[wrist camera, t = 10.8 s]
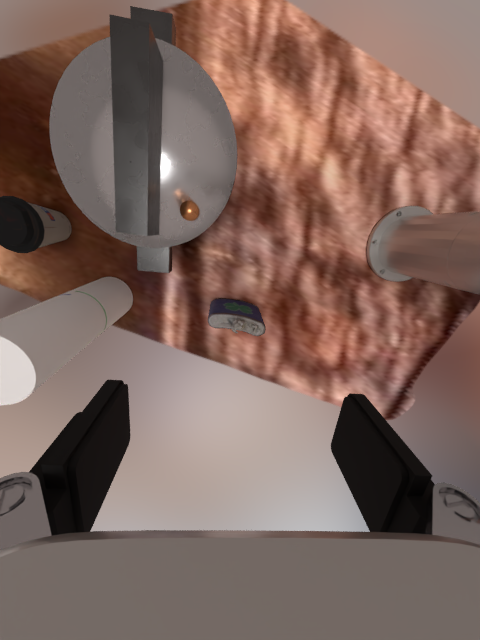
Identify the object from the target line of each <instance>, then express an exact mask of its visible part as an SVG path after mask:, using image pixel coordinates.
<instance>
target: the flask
mask: <svg viewBox="0 0 480 640" xmlns="http://www.w3.org/2000/svg"><path fill="white" fill-rule="evenodd" d="M208 323H209V325H210V326H211V327H214V328H228V329H232V331H233V332H235V333H238V332H237V331H236V330H240V331H244V332H247V333H249V334H252V335H255V336H260V335H262V334H264V333H265V324H264V322H263V319H262V317H261V313H260V311H259V308H258V307H257V306H255V305H254V304H252V303H249V302H245V301H241V300H234V299H226V298H218V299H214V300H213V301H212V302H211V304H210V310H209V317H208Z"/></svg>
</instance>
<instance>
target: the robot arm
mask: <svg viewBox="0 0 480 640" xmlns="http://www.w3.org/2000/svg"><path fill="white" fill-rule="evenodd" d="M396 214H397V215H396ZM367 259H368V263H369V265H370V267H371V269H372V270H373V272H374V273H375V274H376V275H378V276H379V277H381V278H383V279H385V280H389V281H395V282H399V281H406V280H409V279H412V278H417V279H421V280H425V281H429V282H432V283H436V284H440V285H444V286H448V287H452V288H455V289H459V290H463V291H467V292H471V293H475V294H480V211H476V212H461V213H446V214H433V213H431V212H430V211H429V210H427V209H425V208H423V207H419V206H405V207H401V208H397V209H395V210H393V211H391V212H389V213H388V214H387V215H385V216H384V217H383V218H382V219H381V220H380V221H379V222H378V223H377V224H376V226H375V227H374V229H373V230H372V232H371V234H370V237H369V240H368V243H367ZM380 270H381V271H380ZM129 441H130V420H129V398H128V385H127V384H124V383H123V381H122V380H107V381H106V382H105V383H104V384H103V386H102V387H101V388H100V390H99V391H98V392H97V394H96V395H95V396H94V397H93V399H92V400H91V401H90V402H89V404H88V405H87V406H86V408H85V409H84V410H83V412H79V413H77V414H76V415H75V416H74V417H73V418H72V419H71V420H70V422H69V423H68V424H67V425H66V427H65V428H64V429H63V430H62V432H61V433H60V434H59V435H58V437H57V438H56V439H55V440H54V442H53V443H52V444H51V445H50V447H49V448H48V449H47V450H46V452H45V453H44V454H43V455H42V457H41V458H40V459H39V460H38V462H37V463H36V464H35V465H34V467H33V468H32V469H31V470H30V472H20V473H14V474H11V475H8V476H5V477H3V478H0V640H480V503H479V502H478V501H477V500H476V499H475V498H474V497H472V496H471V495H470V494H468V493H467V492H465V491H464V490H462V489H460V488H458V487H456V486H454V485H451V484H447V483H437V484H436V485H435V484H434V483H433V482H432V481H431V477H432V475H431V474H430V473H429V471H428V470H427V469H426V468H425V467H424V466H423V464H422V463H421V462H420V461H419V459H418V458H417V457H416V456H415V455H414V454H413V452H412V451H411V450H410V449H409V448H408V446H407V445H406V444H405V443H404V442H403V440H402V439H401V438H400V437H399V436H398V434H397V433H396V432H395V431H394V430H393V428H392V427H391V426H390V425H389V424H388V423H387V421H386V420H385V419H384V418H383V417H382V415H381V414H380V413H379V412H378V411H377V409H376V408H375V407H374V406H373V405H372V403H371V402H370V401H369V400H368V399H367V398H366V396H365V395H363V394H349V395H348V397H345V398H344V400H343V404H342V407H341V411H340V415H339V418H338V421H337V425H336V428H335V432H334V435H333V439H332V443H331V450H332V453H333V455H334V457H335V459H336V462H337V464H338V466H339V468H340V470H341V472H342V474H343V476H344V478H345V480H346V482H347V484H348V486H349V488H350V491H351V493H352V494H353V497H354V499H355V501H356V503H357V505H358V507H359V509H360V511H361V514H362V516H363V518H364V520H365V522H366V524H367V526H368V528H369V530H370V532H333V531H332V532H330V531H329V532H328V531H159V530H158V531H157V530H154V531H151V530H150V531H149V530H146V531H94V532H90V530H91V528H92V526H93V524H94V521H95V519H96V517H97V515H98V512H99V510H100V508H101V506H102V503H103V501H104V499H105V497H106V494H107V492H108V490H109V488H110V485H111V483H112V481H113V479H114V476H115V474H116V472H117V469H118V467H119V465H120V463H121V461H122V458H123V456H124V454H125V452H126V449H127V447H128V445H129Z"/></svg>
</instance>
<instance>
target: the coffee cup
mask: <svg viewBox="0 0 480 640" xmlns="http://www.w3.org/2000/svg"><path fill="white" fill-rule="evenodd" d="M70 234H71V224H70V222H69V220H68V218H67V217H66V216H65V215H63V214H62V213H60V212H58V211H55V210H51V209H48V208H45V207H41V206H38V205H35V204H31V203H28V202H25V201H24V200H22V199H19V198H17V197H14V196H2V197H0V245H1V246H3V247H4V248H6V249H8V250H11V251H14V252H17V253H29V252H32V251H35V250H36V249H37V248H40V247H43V246H46V245H50V244H53V243H56V242H60V241H63V240H66V239H67V238H68V237H69V236H70Z"/></svg>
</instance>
